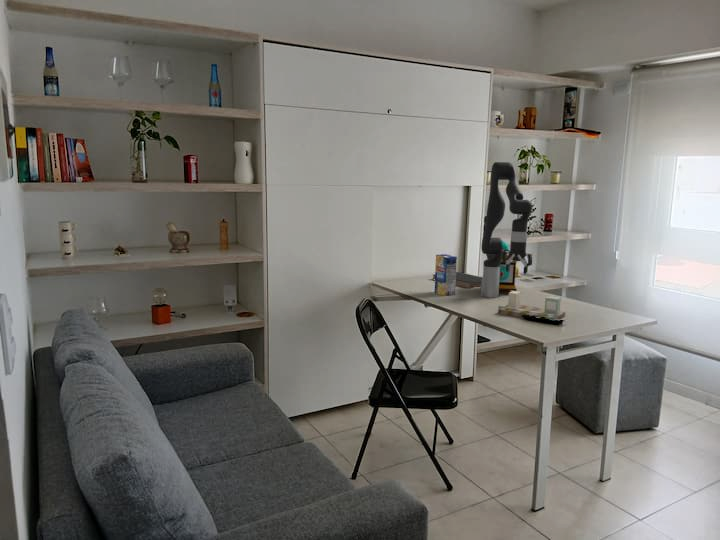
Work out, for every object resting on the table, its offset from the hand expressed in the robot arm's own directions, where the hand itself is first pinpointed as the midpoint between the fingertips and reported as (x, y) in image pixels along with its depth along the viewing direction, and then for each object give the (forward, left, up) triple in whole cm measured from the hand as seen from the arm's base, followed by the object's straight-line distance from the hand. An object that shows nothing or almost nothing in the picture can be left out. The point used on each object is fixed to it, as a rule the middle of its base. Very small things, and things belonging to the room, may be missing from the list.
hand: (516, 272), depth 277 cm
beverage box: (-47, +15, -20) cm, 53 cm away
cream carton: (0, 0, -18) cm, 18 cm away
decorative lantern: (-25, +42, -20) cm, 53 cm away
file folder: (-54, +54, -21) cm, 79 cm away
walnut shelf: (+9, 0, -20) cm, 22 cm away
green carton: (+19, 0, -18) cm, 26 cm away
